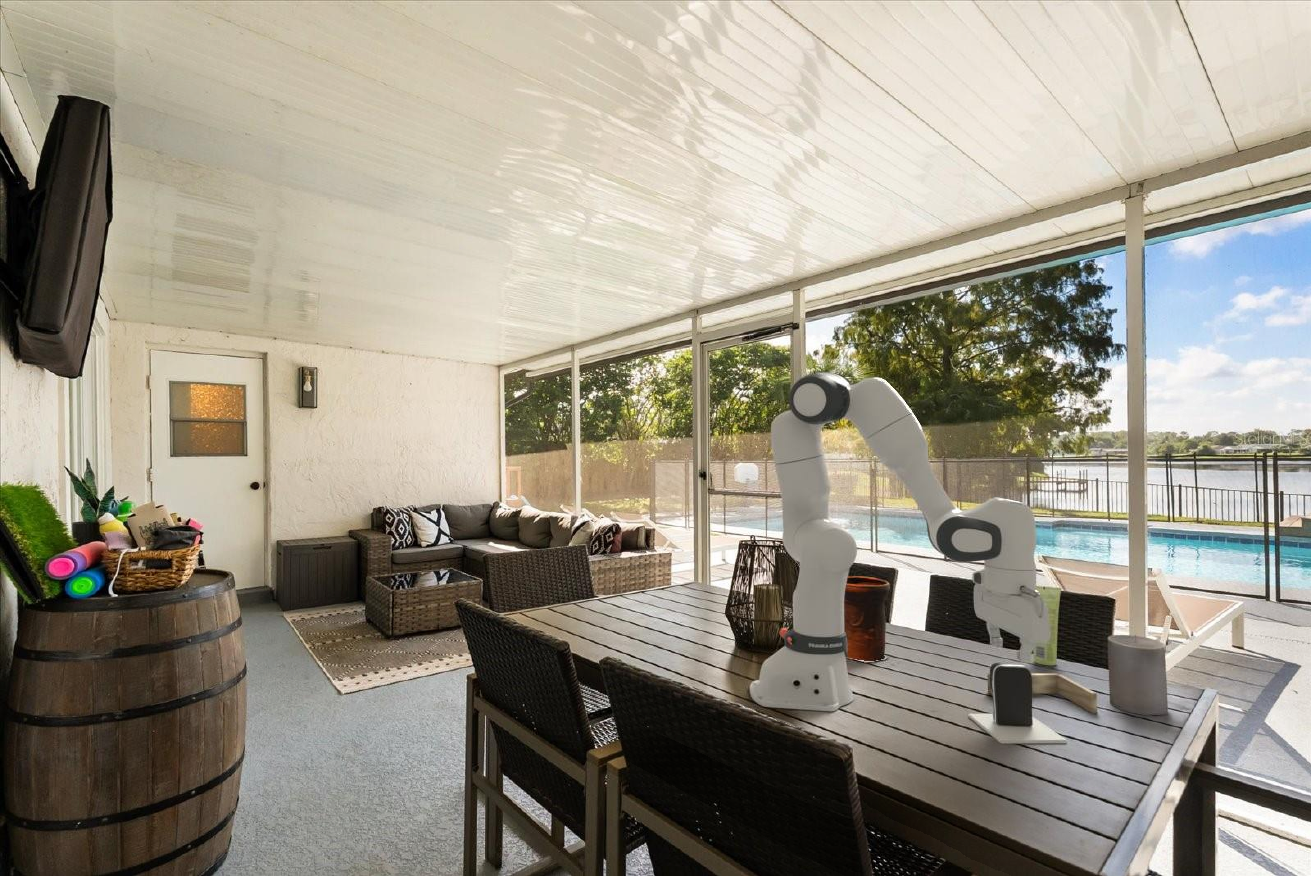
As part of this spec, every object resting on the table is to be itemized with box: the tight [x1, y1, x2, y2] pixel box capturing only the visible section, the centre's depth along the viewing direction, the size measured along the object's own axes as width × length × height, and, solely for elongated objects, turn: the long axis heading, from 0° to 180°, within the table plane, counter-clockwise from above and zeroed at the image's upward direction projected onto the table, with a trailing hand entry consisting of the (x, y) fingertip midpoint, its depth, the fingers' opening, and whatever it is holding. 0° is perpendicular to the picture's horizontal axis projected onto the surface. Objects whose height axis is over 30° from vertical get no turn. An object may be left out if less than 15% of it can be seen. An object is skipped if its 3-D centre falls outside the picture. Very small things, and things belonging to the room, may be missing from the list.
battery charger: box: [989, 662, 1033, 726], centre depth 122 cm, size 7×4×11 cm, turn 83°
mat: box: [967, 713, 1068, 744], centre depth 120 cm, size 12×12×1 cm
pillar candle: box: [1107, 634, 1169, 716], centre depth 130 cm, size 10×10×15 cm
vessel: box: [844, 576, 891, 661], centre depth 167 cm, size 14×14×20 cm
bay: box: [987, 672, 1098, 714], centre depth 133 cm, size 16×12×4 cm
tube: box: [1032, 585, 1062, 667], centre depth 159 cm, size 6×5×20 cm
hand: (1009, 653), depth 121 cm, fingers open, 8 cm apart
